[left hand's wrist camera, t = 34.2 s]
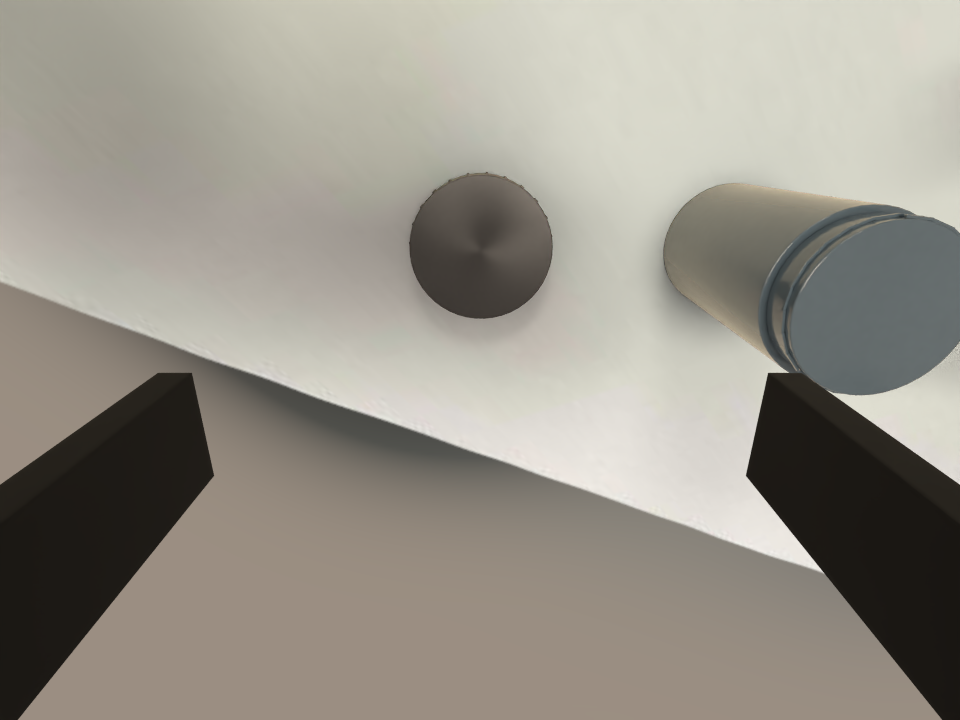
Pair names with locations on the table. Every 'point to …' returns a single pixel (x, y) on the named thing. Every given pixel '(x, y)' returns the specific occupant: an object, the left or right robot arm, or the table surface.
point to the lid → (481, 246)
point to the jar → (822, 282)
